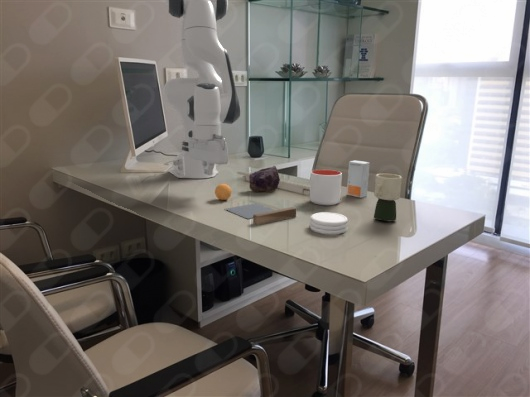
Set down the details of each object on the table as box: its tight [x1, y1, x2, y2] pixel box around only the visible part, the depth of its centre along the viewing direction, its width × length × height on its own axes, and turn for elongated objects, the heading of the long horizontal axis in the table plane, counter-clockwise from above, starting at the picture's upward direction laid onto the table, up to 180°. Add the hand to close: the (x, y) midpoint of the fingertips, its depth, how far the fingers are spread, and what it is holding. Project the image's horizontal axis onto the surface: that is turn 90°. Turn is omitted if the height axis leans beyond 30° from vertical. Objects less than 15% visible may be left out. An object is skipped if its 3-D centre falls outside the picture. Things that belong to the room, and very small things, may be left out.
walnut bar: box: [252, 206, 297, 226], centre depth 124 cm, size 2×14×2 cm, turn 128°
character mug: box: [373, 173, 403, 222], centre depth 125 cm, size 11×7×13 cm, turn 132°
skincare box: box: [346, 160, 371, 199], centre depth 153 cm, size 6×4×12 cm
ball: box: [214, 183, 232, 201], centre depth 144 cm, size 5×5×5 cm
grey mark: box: [225, 202, 275, 220], centre depth 133 cm, size 12×12×1 cm
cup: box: [309, 169, 343, 206], centre depth 144 cm, size 10×10×10 cm
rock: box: [248, 165, 281, 193], centre depth 158 cm, size 12×9×10 cm
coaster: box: [309, 211, 349, 235], centre depth 118 cm, size 10×10×4 cm
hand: (208, 174), depth 150 cm, fingers closed
